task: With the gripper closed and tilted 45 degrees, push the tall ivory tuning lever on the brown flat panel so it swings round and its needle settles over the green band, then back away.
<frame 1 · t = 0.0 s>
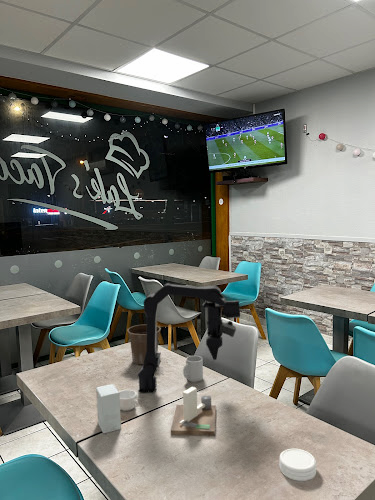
hand: (215, 355, 158), 15 cm above the table, tool pointing down, fingers open, 9 cm apart
brown flat panel: (194, 421, 136), on the table
small box: (109, 426, 135), on the table
coaster: (297, 470, 110), on the table
teacup: (128, 409, 146), on the table
cup: (192, 379, 170), on the table
tuning lever: (195, 401, 137), point 7 cm above the table, hinge at 0.0°
plant pot: (145, 361, 193), on the table
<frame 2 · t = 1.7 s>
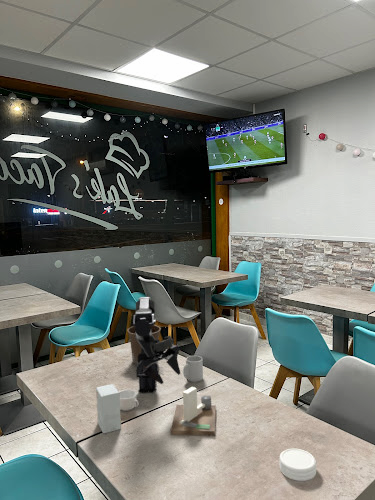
hand: (171, 378, 140), 13 cm above the table, tool tilted 45°, fingers open, 9 cm apart
nothing on the table moved.
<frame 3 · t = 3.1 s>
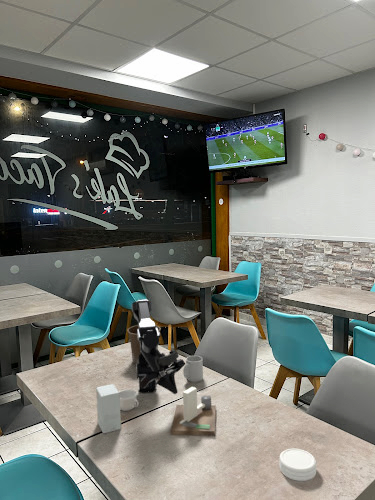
hand: (176, 393, 138), 9 cm above the table, tool tilted 45°, fingers closed
nothing on the table moved.
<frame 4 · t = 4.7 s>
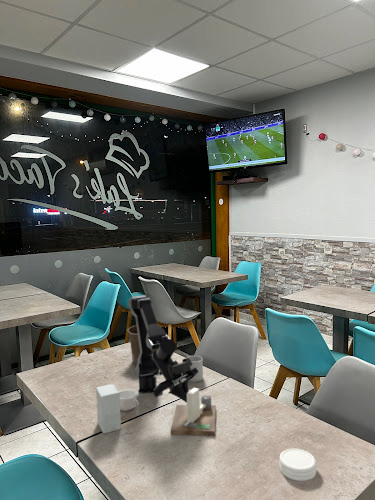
hand: (190, 402, 134), 7 cm above the table, tool tilted 45°, fingers closed, pressing on tuning lever
tuning lever: (197, 401, 136), point 7 cm above the table, hinge at 8.3°, touching gripper
everything else where it was.
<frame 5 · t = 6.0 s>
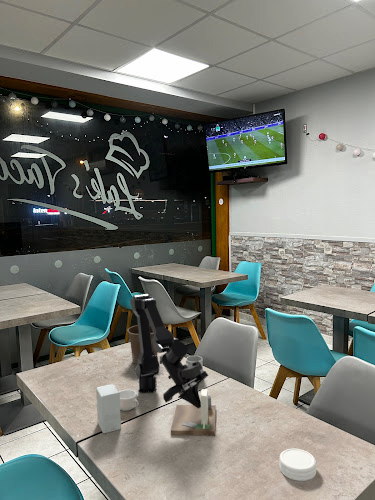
hand: (200, 407, 132), 7 cm above the table, tool tilted 45°, fingers closed
tuning lever: (205, 402, 135), point 7 cm above the table, hinge at 33.8°, touching gripper
everything else where it was.
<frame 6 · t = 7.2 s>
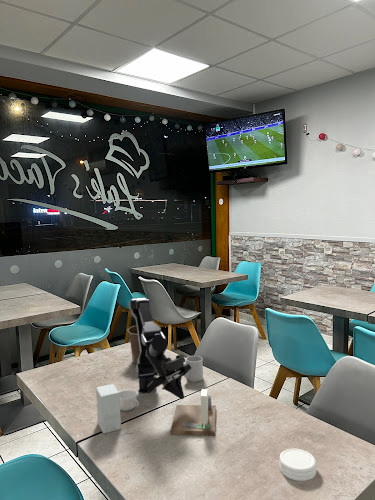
hand: (183, 398, 137), 8 cm above the table, tool tilted 45°, fingers closed
tuning lever: (205, 402, 135), point 7 cm above the table, hinge at 33.9°
everything else where it was.
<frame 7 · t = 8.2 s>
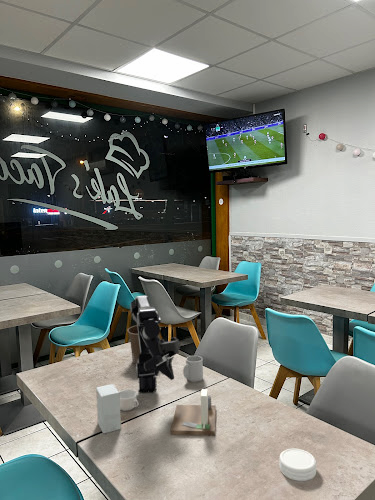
hand: (172, 379, 143), 12 cm above the table, tool tilted 35°, fingers closed
nothing on the table moved.
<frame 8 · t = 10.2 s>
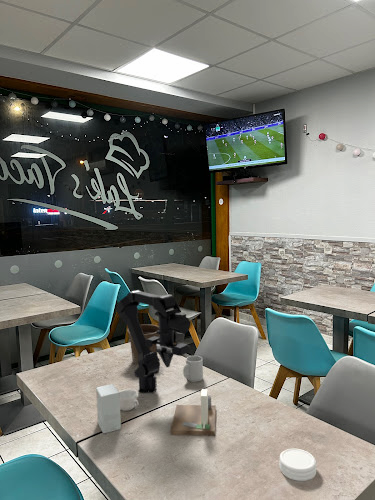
hand: (167, 366, 152), 13 cm above the table, tool pointing down, fingers closed
nothing on the table moved.
at the end: tuning lever at +34° (first picture: +0°) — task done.
